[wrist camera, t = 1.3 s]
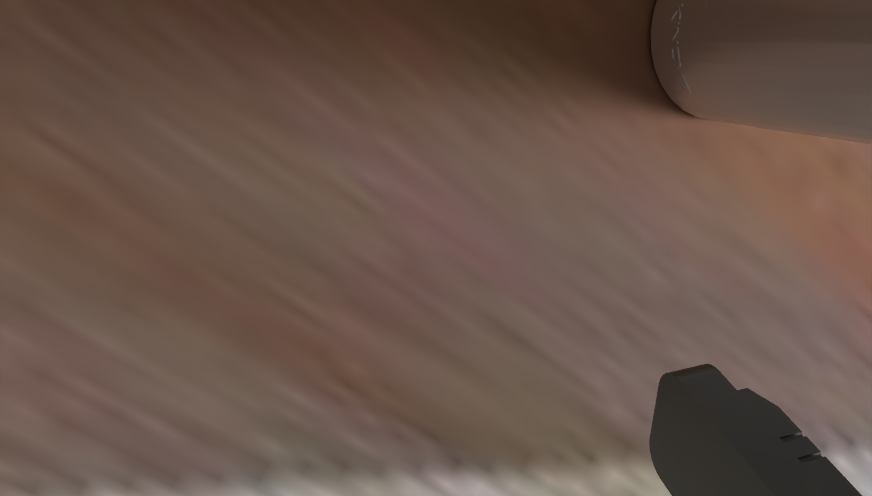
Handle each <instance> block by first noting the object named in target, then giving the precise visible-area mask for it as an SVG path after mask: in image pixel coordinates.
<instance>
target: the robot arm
mask: <svg viewBox="0 0 872 496" xmlns="http://www.w3.org/2000/svg"><path fill="white" fill-rule="evenodd" d="M651 53H652V58H653V63H654V68H655V71H656V73H657V76H658V78H659V81H660V83H661V85H662V87H663V89H664V90H665V91H666V93H667V94H668V96H669V97H670V99H671V100H672V101H673V102H674V103H675V104H677V105H678V106H679V107H680V108H681V109H682V110H683V111H685V112H687V113H689V114H691V115H693V116H695V117H698V118H703V119H708V120H713V121H720V122H727V123H734V124H741V125H747V126H754V127H759V128H765V129H772V130H779V131H786V132H793V133H800V134H807V135H814V136H820V137H827V138H834V139H841V140H848V141H855V142H862V143H868V144H872V0H657V2H656V5H655V8H654V12H653V19H652V25H651ZM649 443H650V453H651V458H652V461H653V464H654V467H655V469H656V472H657V473H658V475H659V477H660V479H661V480H662V482H663V483H664V485H665V486H666V488H667V489H668V490H669V492H670V493H671V495H672V496H862V495H861V494H860V493H859V492H858V491H857V490H856V489H855V488H854V487H853V486H852V484H851V483H850V482H849V481H848V480H847V479H846V478H845V477H844V476H843V475H842V474H841V473H840V472H839V471H838V470H837V469H836V467H835V466H834V465H833V464H832V463H831V462H830V461H829V460H828V459H827V458H826V457H822V456H821V453H820V452H821V451H820V450H819V449H818V448H817V447H816V446H815V445H814V444H813V443H812V442H811V441H810V440H809V439H808V438H807V437H806V436H805V437H803V435H802V431H801V430H800V429H799V428H798V427H797V426H796V425H795V424H794V423H793V422H792V421H791V420H790V419H789V417H788V416H787V415H786V414H785V413H784V412H783V411H782V410H781V409H780V408H779V407H778V406H776V405H775V404H773V403H771V402H770V401H768V400H766V399H765V398H763V397H761V396H760V395H758V394H756V393H755V392H753V391H751V390H750V389H748V388H745V389H741V390H736V389H735V388H734V387H733V386H732V384H731V383H730V382H729V381H728V380H727V379H726V378H725V377H724V376H723V374H722V373H721V372H720V371H719V370H718V369H717V368H716V367H714V366H712V365H710V364H703V365H699V366H695V367H691V368H686V369H682V370H678V371H674V372H670V373H665V374H664V375H663V376H662V377H661V379H660V382H659V387H658V393H657V398H656V404H655V410H654V416H653V422H652V428H651V434H650V441H649Z"/></svg>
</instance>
